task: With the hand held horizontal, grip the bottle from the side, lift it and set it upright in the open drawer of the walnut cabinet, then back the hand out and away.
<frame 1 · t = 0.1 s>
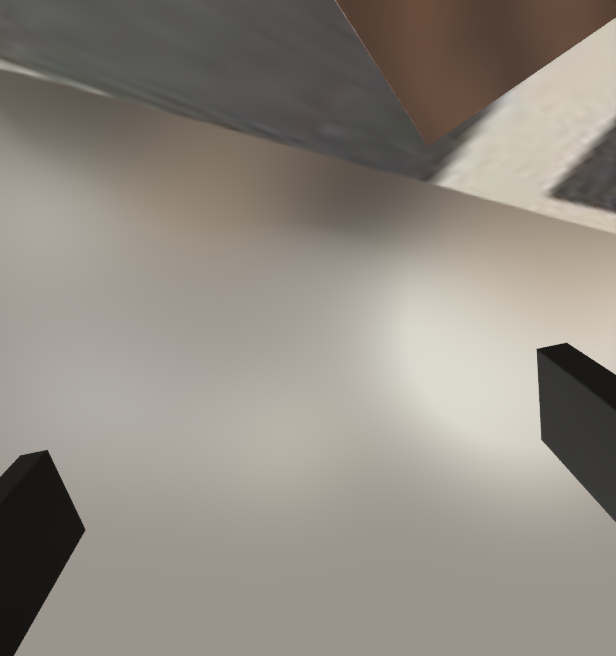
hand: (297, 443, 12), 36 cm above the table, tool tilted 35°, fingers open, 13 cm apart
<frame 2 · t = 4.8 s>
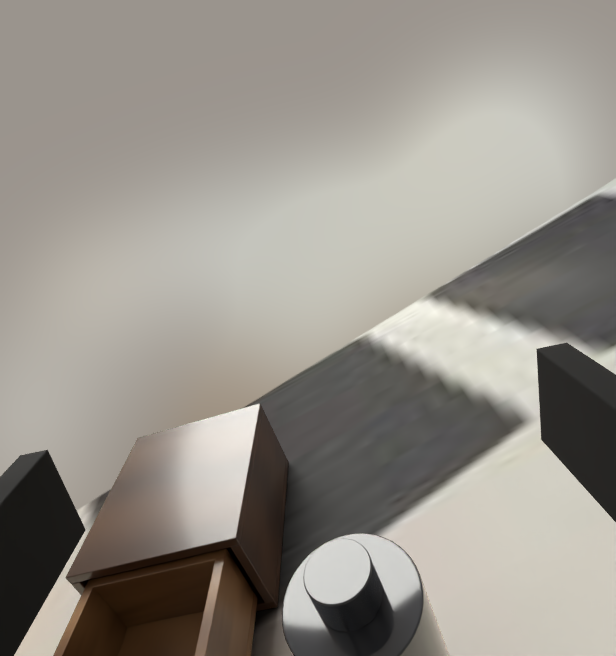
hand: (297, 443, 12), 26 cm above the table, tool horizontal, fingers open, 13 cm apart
cabinet: (215, 538, 46), on the table
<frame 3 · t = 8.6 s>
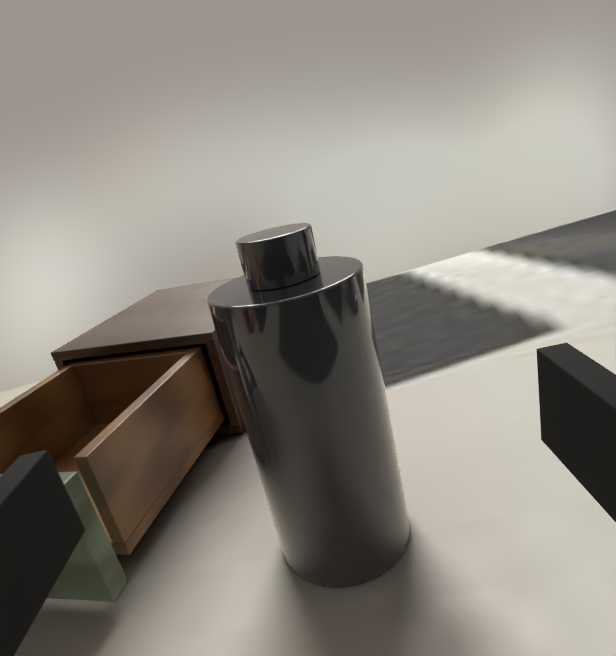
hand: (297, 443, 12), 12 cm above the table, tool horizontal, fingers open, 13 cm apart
cabinet: (204, 388, 46), on the table
drawer: (57, 473, 28), point 4 cm above the table, slide at 14.0 cm
bottle: (344, 531, 25), on the table
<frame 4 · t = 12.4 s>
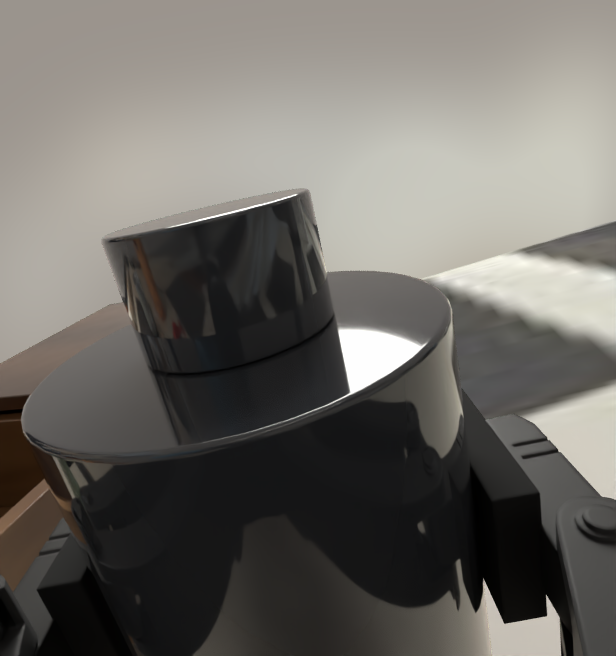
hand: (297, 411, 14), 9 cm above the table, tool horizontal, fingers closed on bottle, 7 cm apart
cabinet: (165, 440, 33), on the table
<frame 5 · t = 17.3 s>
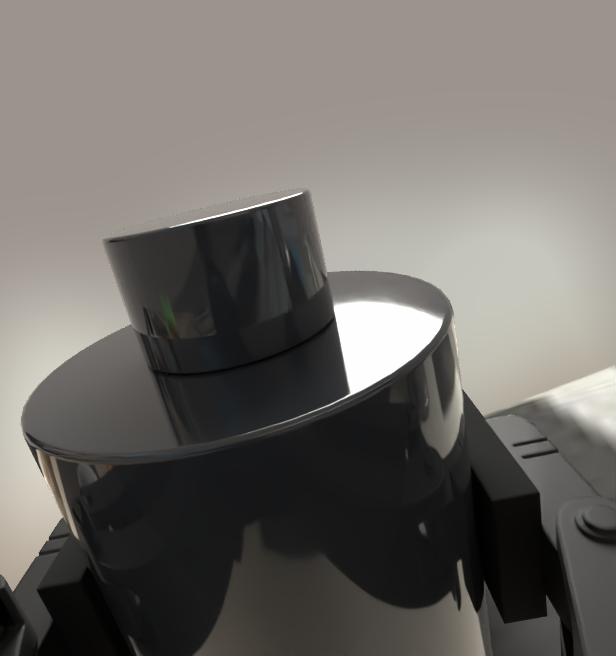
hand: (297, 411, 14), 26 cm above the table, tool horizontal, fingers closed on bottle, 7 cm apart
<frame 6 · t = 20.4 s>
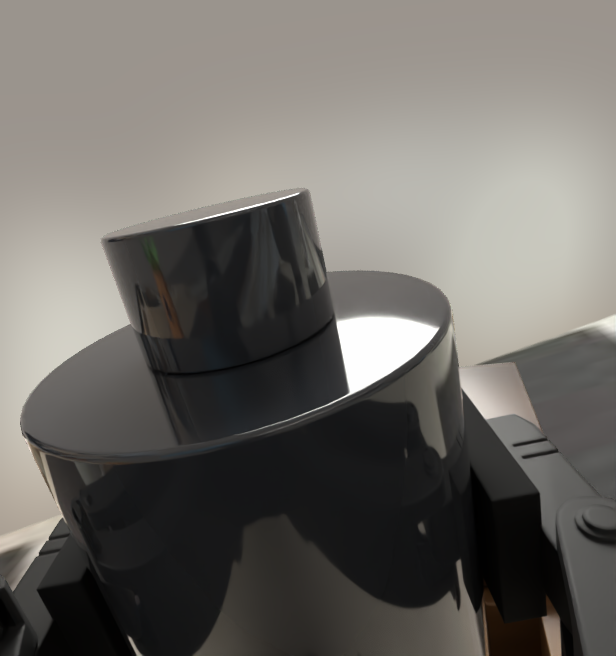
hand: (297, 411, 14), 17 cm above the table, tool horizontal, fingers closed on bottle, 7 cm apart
cabinet: (419, 558, 28), on the table
when the fingers open (11 cm above the table, at t = 22.3 s): bottle stays where it is, resting on drawer.
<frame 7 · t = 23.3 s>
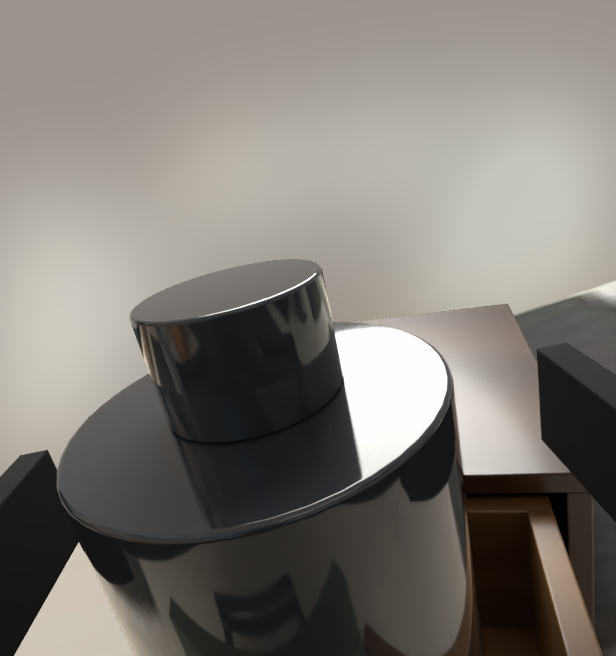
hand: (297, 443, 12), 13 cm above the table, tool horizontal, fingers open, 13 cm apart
cabinet: (406, 503, 27), on the table
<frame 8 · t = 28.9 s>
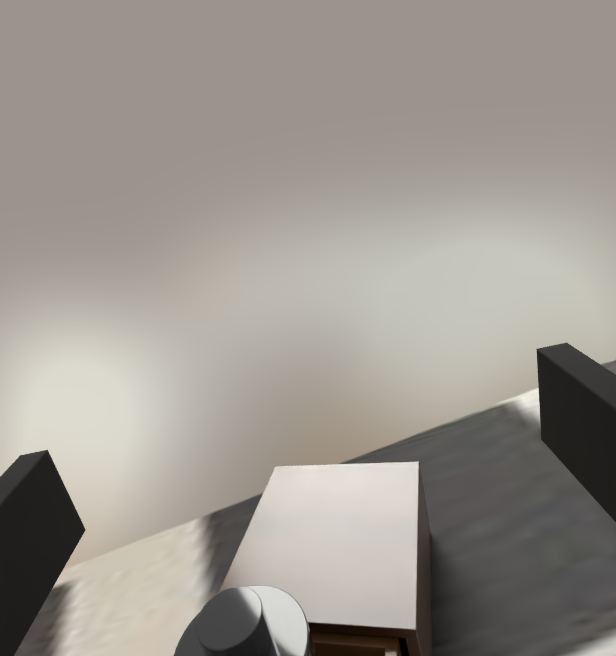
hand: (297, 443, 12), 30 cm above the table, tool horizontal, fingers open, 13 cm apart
cabinet: (347, 603, 41), on the table
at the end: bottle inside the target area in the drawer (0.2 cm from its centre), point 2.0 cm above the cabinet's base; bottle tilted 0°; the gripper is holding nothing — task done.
